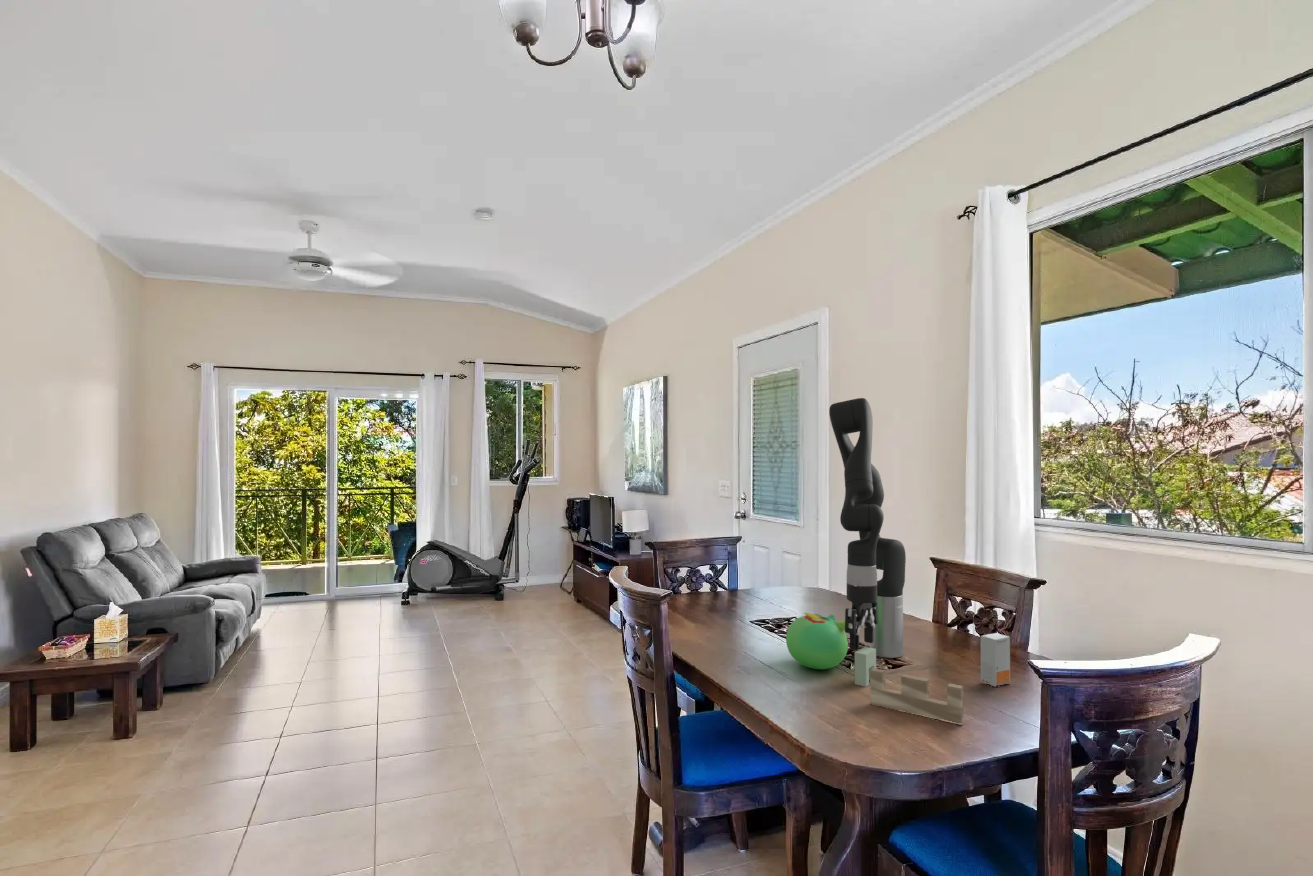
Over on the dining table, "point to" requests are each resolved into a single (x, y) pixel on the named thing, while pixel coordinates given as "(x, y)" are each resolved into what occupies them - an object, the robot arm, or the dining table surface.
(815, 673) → the dining table surface
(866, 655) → the notched block
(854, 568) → the robot arm
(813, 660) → the toy bird
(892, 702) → the maple board
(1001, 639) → the skincare box
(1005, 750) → the dining table surface
